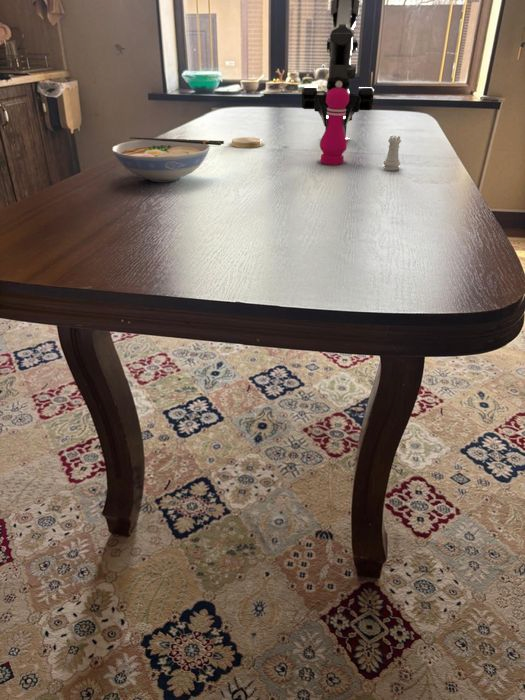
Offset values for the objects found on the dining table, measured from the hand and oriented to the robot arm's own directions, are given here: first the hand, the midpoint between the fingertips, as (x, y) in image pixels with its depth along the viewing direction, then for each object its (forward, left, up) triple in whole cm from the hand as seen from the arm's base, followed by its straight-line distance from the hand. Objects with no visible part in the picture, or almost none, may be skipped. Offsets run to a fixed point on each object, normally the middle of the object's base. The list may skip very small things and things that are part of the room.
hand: (335, 125), depth 137 cm
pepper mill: (-1, -1, -10) cm, 10 cm away
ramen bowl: (+45, -11, -10) cm, 47 cm away
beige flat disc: (+3, -36, -10) cm, 38 cm away
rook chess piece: (-8, +14, -10) cm, 19 cm away
